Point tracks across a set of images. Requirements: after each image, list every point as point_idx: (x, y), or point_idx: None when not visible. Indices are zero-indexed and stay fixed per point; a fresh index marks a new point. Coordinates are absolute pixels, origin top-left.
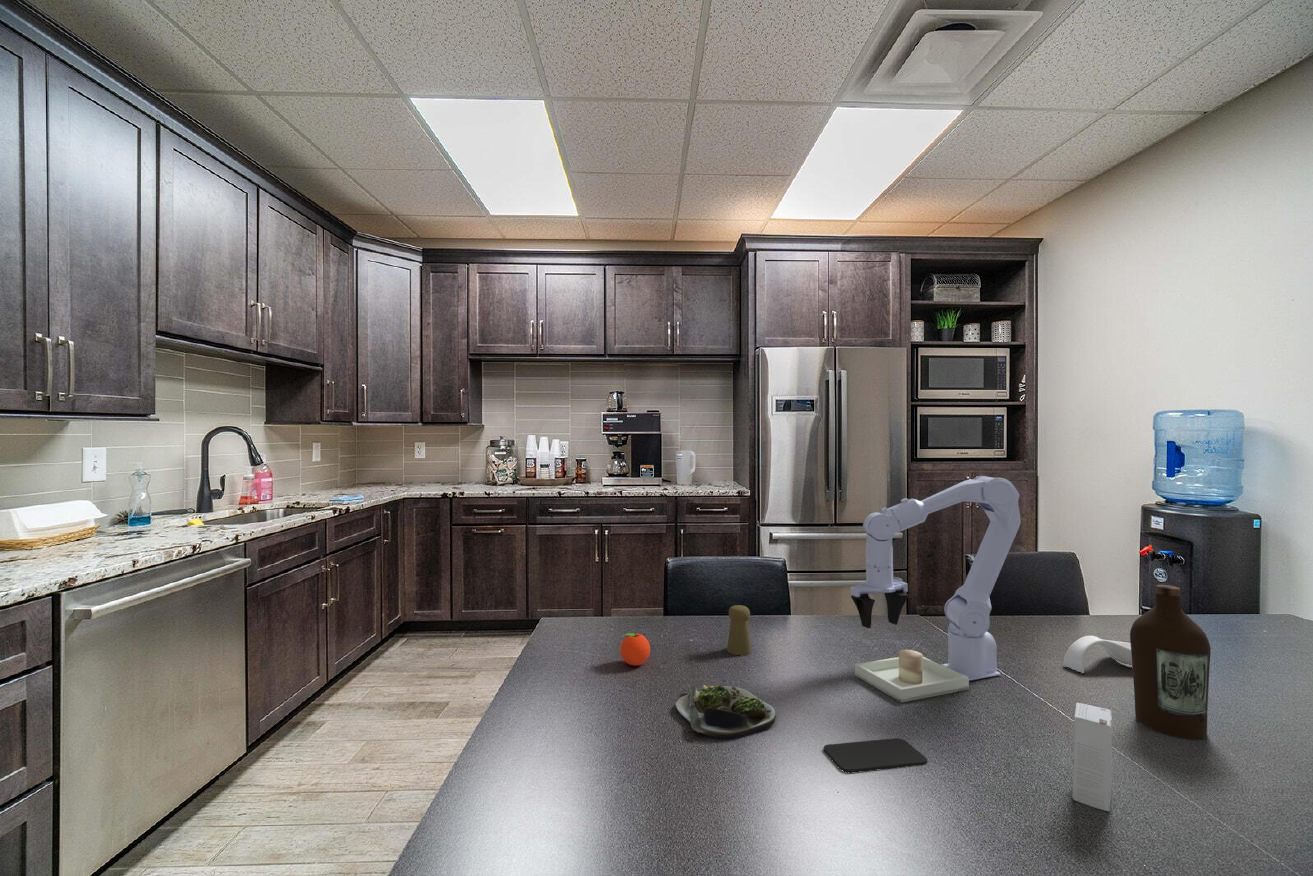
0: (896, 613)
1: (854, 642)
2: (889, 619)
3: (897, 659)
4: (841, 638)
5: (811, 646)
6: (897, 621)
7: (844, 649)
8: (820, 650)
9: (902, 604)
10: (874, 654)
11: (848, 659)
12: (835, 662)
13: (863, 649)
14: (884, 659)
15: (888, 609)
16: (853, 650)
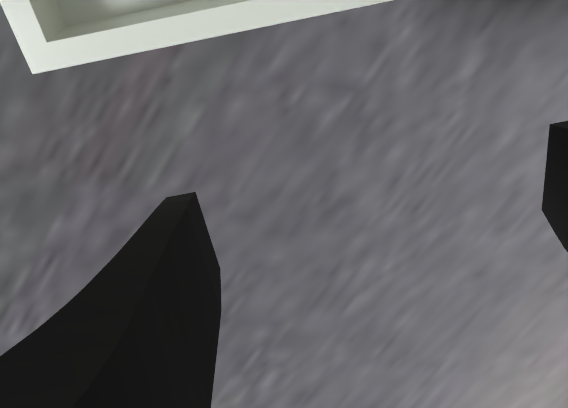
0: (167, 265)
1: (265, 362)
2: (214, 282)
3: (238, 3)
4: (300, 402)
5: (504, 337)
6: (162, 209)
7: (369, 296)
8: (496, 295)
9: (29, 356)
10: (247, 226)
11: (436, 181)
12: (536, 152)
13: (270, 288)
14: (345, 6)
15: (207, 383)
16: (330, 281)
